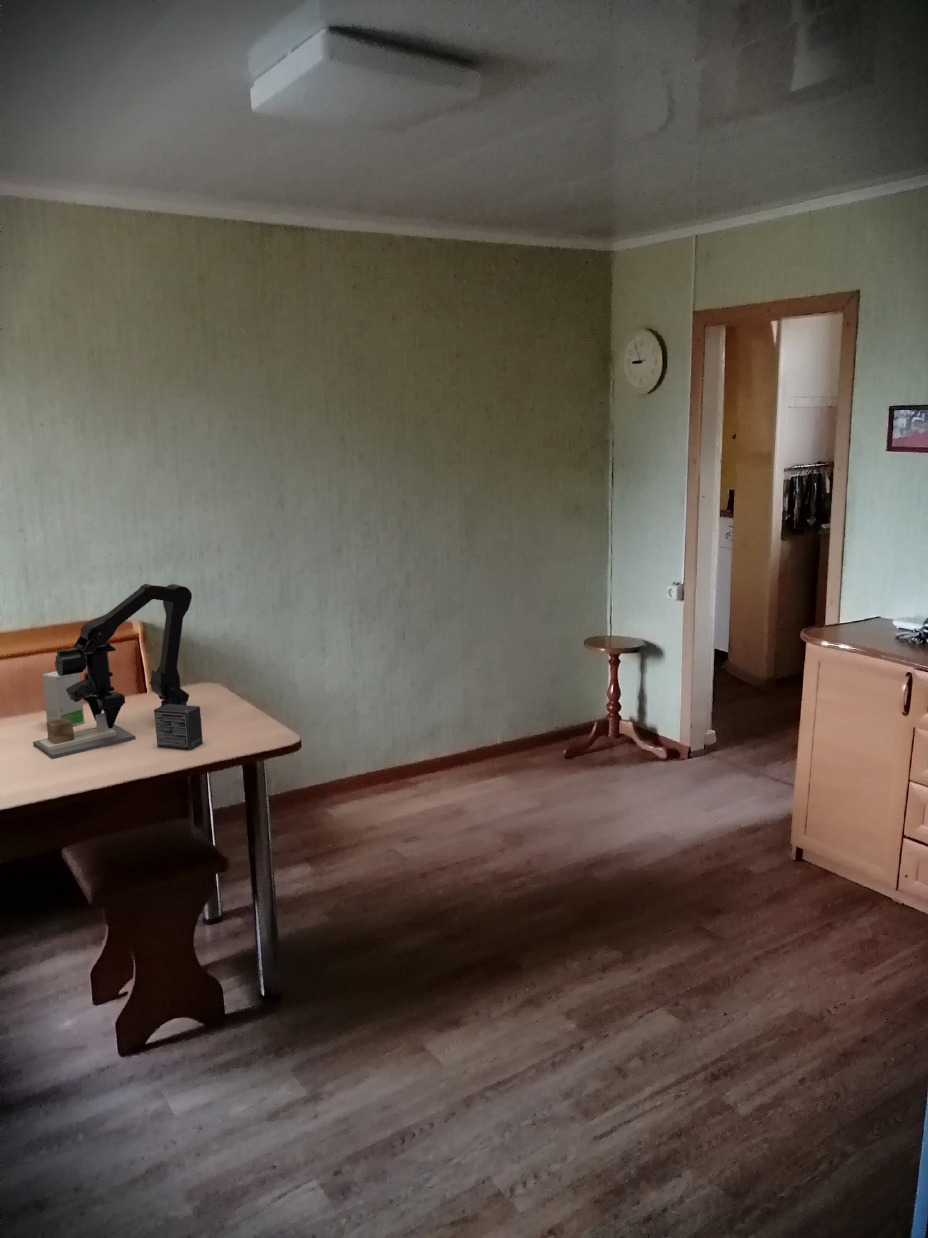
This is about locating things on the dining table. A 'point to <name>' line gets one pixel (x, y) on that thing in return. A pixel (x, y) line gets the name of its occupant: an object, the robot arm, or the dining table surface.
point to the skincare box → (61, 698)
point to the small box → (178, 726)
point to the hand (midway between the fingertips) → (103, 724)
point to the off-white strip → (84, 735)
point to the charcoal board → (88, 743)
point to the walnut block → (60, 731)
